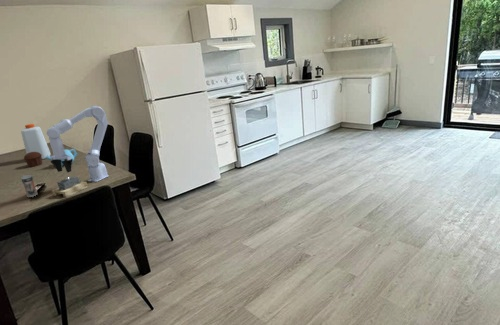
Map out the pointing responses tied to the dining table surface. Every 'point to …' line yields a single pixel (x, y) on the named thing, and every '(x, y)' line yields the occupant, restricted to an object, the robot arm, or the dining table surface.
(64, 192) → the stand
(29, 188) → the beer can
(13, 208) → the dining table surface
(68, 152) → the teapot
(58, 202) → the dining table surface
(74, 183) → the housing
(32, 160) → the muffin
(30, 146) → the plastic bottle
